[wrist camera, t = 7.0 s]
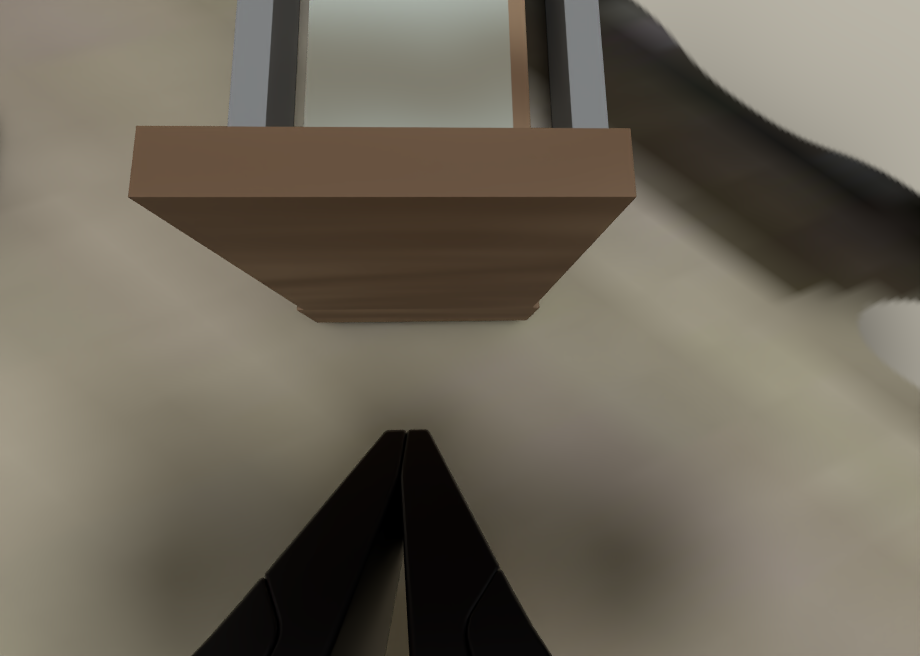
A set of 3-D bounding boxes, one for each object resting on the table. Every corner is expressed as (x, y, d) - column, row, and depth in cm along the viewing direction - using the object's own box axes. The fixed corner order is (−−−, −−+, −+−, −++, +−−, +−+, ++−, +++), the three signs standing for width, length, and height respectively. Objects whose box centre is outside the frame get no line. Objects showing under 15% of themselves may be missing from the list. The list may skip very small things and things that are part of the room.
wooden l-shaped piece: (521, 325, 16) (651, 196, 6) (325, 327, 15) (111, 197, 6) (507, -9, 18) (583, -507, 8) (336, -12, 18) (200, -528, 8)
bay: (586, 183, 17) (609, 147, 14) (258, 182, 16) (225, 145, 14) (571, -38, 18) (589, -104, 16) (272, -44, 18) (246, -112, 15)
